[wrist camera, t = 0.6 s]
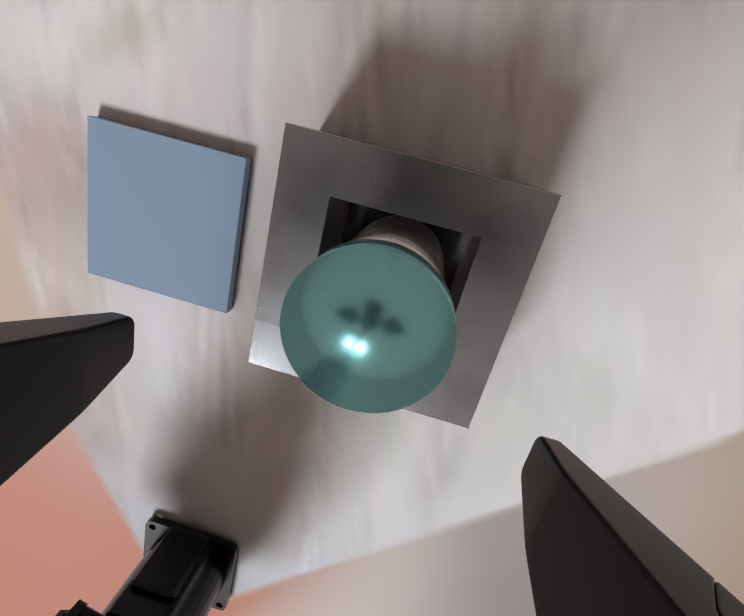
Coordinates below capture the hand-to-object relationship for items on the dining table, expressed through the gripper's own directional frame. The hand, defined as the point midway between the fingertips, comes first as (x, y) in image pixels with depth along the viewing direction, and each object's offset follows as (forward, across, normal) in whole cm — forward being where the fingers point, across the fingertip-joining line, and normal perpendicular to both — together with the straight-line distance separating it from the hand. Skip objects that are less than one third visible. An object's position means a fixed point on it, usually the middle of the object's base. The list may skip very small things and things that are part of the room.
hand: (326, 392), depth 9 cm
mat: (+13, +12, +1) cm, 17 cm away
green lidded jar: (+13, 0, 0) cm, 13 cm away
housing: (+13, 0, 0) cm, 13 cm away
